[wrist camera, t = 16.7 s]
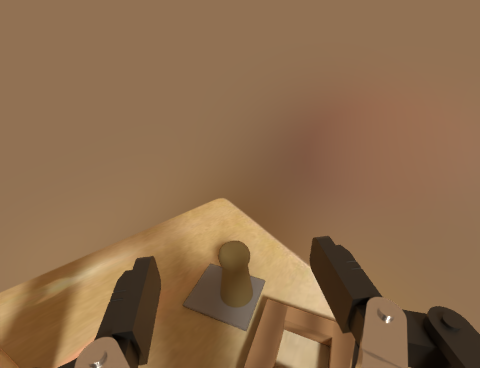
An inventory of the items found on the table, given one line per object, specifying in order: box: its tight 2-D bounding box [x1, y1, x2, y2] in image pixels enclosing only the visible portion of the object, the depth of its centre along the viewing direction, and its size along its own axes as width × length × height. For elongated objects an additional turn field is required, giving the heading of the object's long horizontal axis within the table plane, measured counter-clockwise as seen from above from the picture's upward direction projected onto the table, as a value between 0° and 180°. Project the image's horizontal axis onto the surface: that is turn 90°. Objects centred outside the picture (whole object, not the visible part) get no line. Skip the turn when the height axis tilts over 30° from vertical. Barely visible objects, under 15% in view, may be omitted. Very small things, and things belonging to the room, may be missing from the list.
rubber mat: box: [183, 264, 265, 331], centre depth 44 cm, size 12×10×1 cm
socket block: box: [244, 299, 355, 368], centre depth 34 cm, size 14×12×2 cm
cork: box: [218, 241, 253, 308], centre depth 42 cm, size 6×6×11 cm
